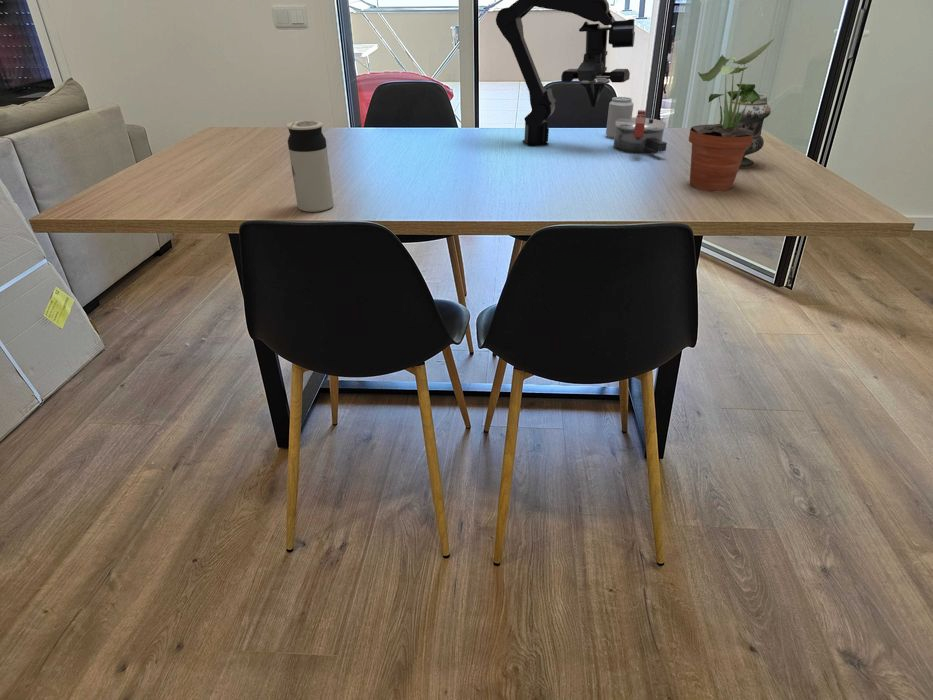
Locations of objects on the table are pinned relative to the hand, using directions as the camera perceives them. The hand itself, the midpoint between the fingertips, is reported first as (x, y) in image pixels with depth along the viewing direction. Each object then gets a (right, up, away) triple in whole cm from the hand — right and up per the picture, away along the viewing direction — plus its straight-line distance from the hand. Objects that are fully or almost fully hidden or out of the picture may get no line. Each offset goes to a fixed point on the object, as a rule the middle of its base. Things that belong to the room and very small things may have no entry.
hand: (593, 107), depth 177 cm
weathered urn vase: (+37, -20, -10) cm, 43 cm away
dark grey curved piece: (+15, -11, +3) cm, 19 cm away
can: (+11, -3, +18) cm, 21 cm away
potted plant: (+23, -31, -27) cm, 47 cm away
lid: (+13, -6, 0) cm, 15 cm away
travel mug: (-72, -40, -41) cm, 92 cm away
